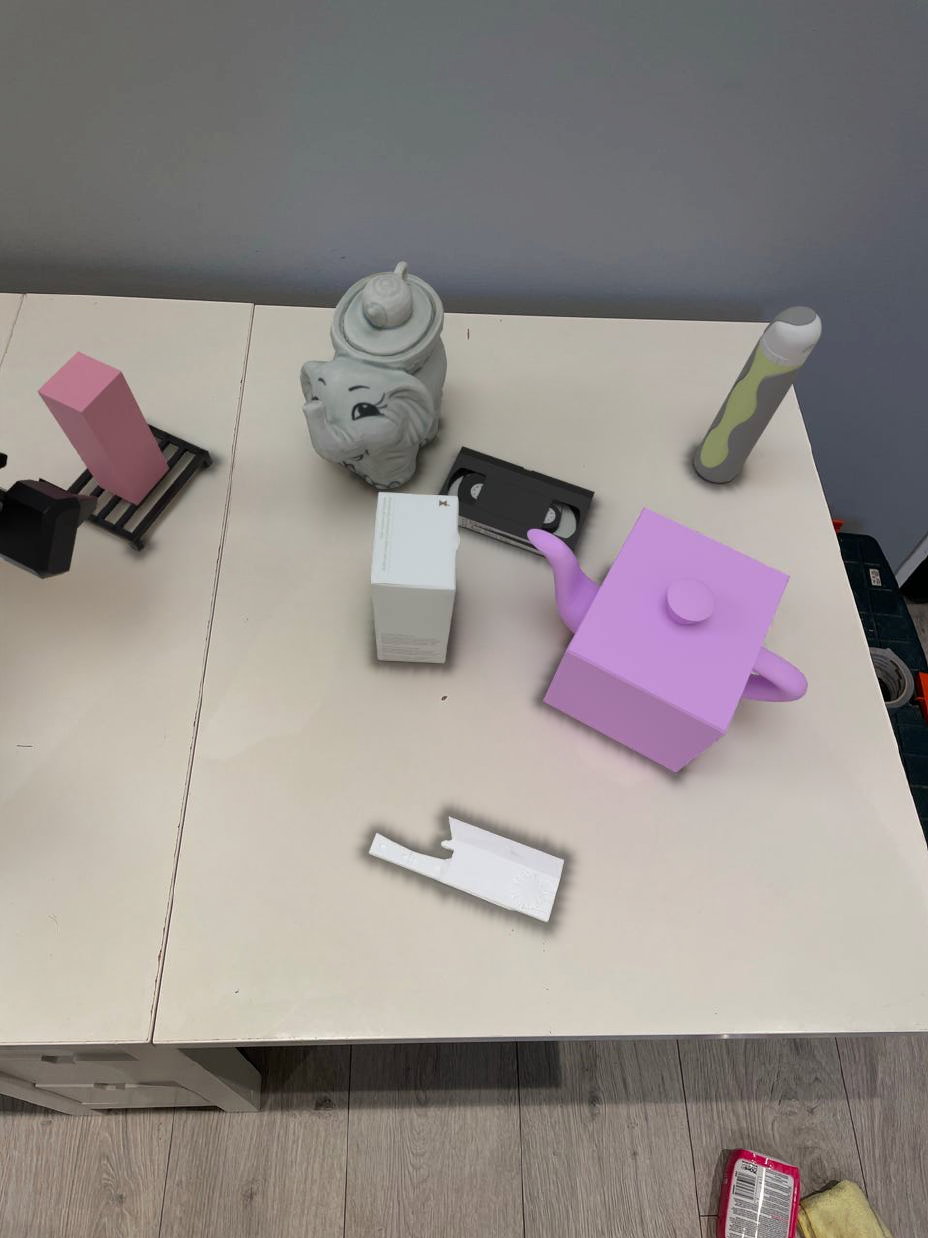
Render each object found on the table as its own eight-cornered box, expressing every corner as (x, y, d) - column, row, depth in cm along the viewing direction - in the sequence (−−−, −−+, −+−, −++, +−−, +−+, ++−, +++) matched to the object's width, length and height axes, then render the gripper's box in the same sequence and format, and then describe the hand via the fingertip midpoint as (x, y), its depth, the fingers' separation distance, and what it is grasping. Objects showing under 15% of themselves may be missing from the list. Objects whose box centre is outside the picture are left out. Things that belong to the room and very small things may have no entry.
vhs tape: (432, 516, 74) (433, 505, 72) (461, 458, 77) (462, 445, 75) (567, 565, 72) (571, 554, 70) (590, 503, 75) (594, 491, 73)
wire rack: (139, 551, 70) (133, 542, 68) (62, 514, 71) (54, 503, 70) (212, 462, 75) (208, 450, 73) (139, 428, 76) (133, 416, 75)
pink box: (137, 505, 70) (81, 412, 58) (99, 487, 71) (36, 391, 59) (169, 468, 72) (121, 370, 60) (132, 450, 73) (78, 350, 61)
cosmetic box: (383, 583, 70) (375, 485, 56) (453, 586, 70) (461, 490, 56) (376, 664, 66) (365, 582, 52) (449, 668, 67) (457, 587, 53)
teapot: (546, 541, 73) (572, 451, 60) (783, 659, 69) (865, 589, 56) (472, 663, 67) (485, 592, 54) (728, 801, 63) (806, 758, 50)
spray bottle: (711, 492, 77) (800, 345, 59) (682, 458, 78) (761, 306, 60) (746, 474, 78) (844, 325, 60) (717, 441, 80) (804, 287, 62)
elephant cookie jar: (335, 537, 72) (309, 403, 55) (276, 427, 77) (236, 274, 60) (482, 476, 76) (500, 334, 59) (416, 376, 81) (415, 219, 64)
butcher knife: (393, 795, 61) (392, 792, 60) (564, 861, 60) (566, 859, 59) (368, 854, 59) (368, 852, 58) (545, 924, 58) (548, 923, 57)
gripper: (-9, 435, 43) (164, 430, 57) (-252, 320, 45) (-28, 343, 60) (-32, 603, 47) (136, 559, 61) (-255, 488, 49) (-44, 472, 64)
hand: (50, 480), depth 61 cm, fingers open, 9 cm apart
